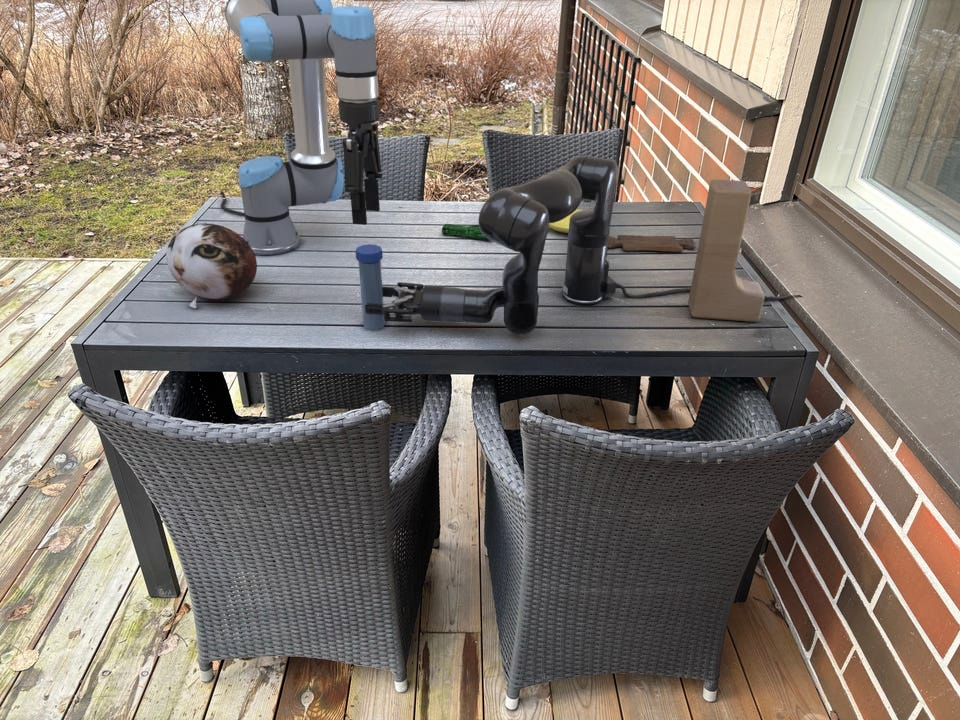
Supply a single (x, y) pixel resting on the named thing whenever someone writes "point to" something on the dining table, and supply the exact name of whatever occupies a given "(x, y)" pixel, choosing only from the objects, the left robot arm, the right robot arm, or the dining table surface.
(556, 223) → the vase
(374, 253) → the lid
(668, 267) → the dining table surface
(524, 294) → the right robot arm
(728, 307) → the decorative block
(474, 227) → the handgun
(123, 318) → the dining table surface
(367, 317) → the blue-grey bottle
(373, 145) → the left robot arm
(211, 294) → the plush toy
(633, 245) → the wooden paddle board
